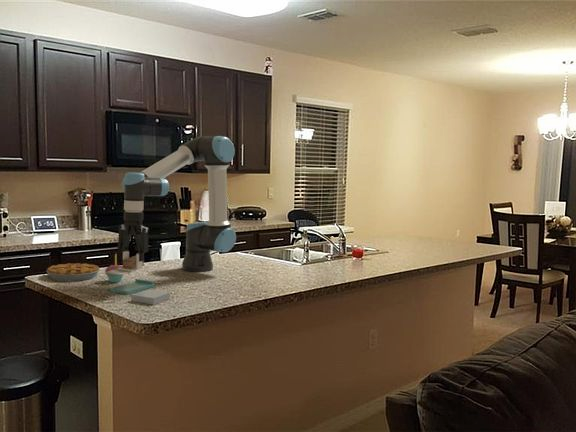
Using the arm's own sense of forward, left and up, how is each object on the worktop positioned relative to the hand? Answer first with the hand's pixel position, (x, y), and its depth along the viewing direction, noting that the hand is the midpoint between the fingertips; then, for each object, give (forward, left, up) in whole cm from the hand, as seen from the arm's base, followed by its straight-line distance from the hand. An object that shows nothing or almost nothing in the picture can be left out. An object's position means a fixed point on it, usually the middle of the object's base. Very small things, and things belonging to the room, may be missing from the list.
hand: (132, 268), depth 213 cm
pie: (-4, -36, -9) cm, 37 cm away
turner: (+2, 0, 0) cm, 2 cm away
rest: (0, 0, -9) cm, 9 cm away
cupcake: (-7, -15, -9) cm, 19 cm away
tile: (+5, +17, -7) cm, 19 cm away
